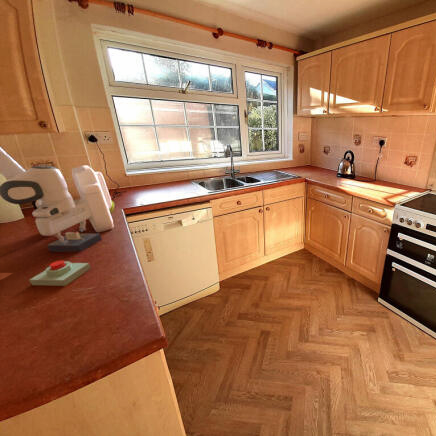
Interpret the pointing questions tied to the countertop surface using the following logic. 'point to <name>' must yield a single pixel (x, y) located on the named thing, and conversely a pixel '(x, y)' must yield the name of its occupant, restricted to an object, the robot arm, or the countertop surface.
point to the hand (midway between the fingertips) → (73, 235)
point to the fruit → (111, 207)
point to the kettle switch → (57, 265)
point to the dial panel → (74, 243)
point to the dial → (72, 235)
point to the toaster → (94, 196)
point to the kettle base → (60, 274)
